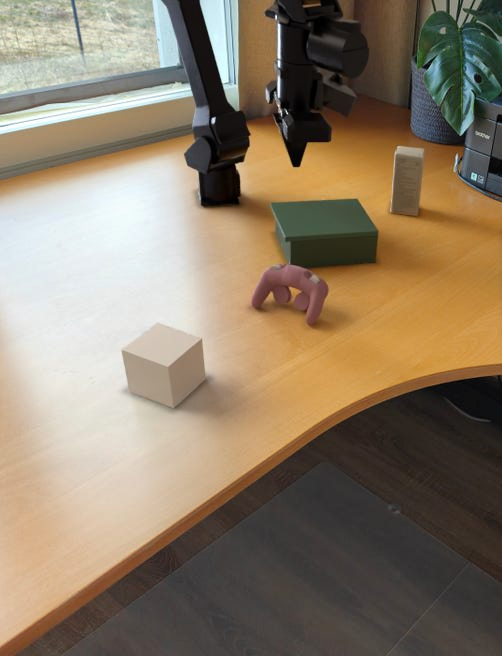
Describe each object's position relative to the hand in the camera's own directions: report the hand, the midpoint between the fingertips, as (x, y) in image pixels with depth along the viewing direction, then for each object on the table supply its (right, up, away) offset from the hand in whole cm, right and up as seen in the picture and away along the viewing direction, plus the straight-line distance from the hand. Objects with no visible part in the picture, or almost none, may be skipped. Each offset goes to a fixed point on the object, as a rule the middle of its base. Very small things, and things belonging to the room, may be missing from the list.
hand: (295, 166), depth 102 cm
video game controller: (+1, -23, -10) cm, 25 cm away
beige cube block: (-10, -33, -25) cm, 43 cm away
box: (+16, -2, +19) cm, 26 cm away
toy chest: (+4, -12, +5) cm, 13 cm away
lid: (+4, -8, +1) cm, 9 cm away
